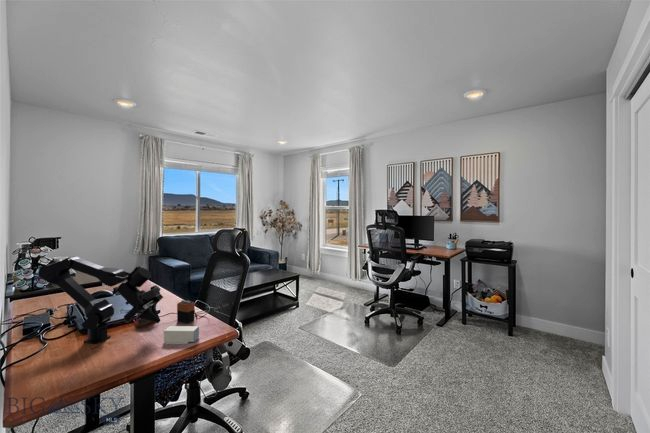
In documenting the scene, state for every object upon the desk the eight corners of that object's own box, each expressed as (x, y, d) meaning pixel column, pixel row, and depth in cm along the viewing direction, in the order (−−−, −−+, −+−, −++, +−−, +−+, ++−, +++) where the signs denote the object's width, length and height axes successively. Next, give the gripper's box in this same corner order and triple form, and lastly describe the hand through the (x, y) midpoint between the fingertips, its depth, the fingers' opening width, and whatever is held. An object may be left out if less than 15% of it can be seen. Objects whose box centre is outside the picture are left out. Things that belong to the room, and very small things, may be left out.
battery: (187, 324, 137) (187, 303, 136) (176, 322, 139) (176, 301, 138) (194, 320, 141) (194, 300, 140) (184, 318, 143) (184, 298, 143)
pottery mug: (165, 321, 140) (160, 310, 136) (147, 337, 133) (141, 325, 129) (148, 311, 145) (143, 300, 140) (130, 325, 138) (124, 314, 133)
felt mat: (164, 344, 117) (164, 343, 117) (172, 336, 124) (172, 335, 124) (186, 344, 117) (186, 343, 117) (194, 336, 124) (194, 335, 124)
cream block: (163, 330, 118) (194, 330, 118) (169, 326, 123) (198, 326, 123) (163, 341, 118) (194, 341, 119) (169, 336, 123) (198, 336, 123)
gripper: (131, 287, 110) (161, 317, 111) (159, 275, 129) (183, 300, 129) (110, 307, 110) (140, 337, 111) (140, 292, 129) (165, 317, 130)
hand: (159, 321), depth 120 cm, fingers closed
